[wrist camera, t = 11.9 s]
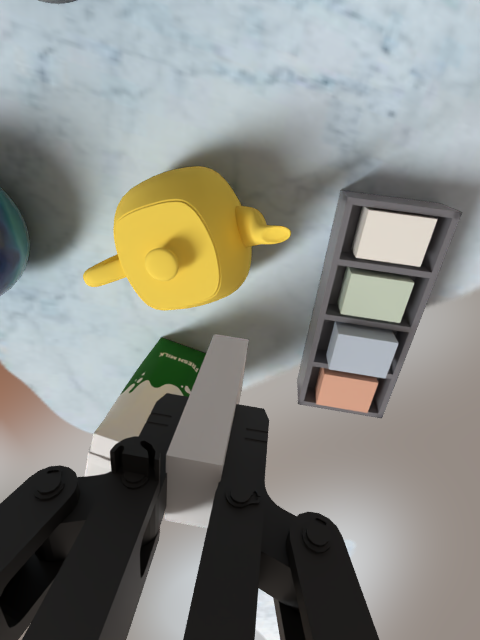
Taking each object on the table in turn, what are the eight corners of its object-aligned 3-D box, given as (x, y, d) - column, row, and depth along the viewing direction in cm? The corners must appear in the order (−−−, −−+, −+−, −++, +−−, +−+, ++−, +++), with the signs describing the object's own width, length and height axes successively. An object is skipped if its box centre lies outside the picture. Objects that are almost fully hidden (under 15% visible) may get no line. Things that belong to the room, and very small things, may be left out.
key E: (322, 359, 42) (324, 374, 40) (372, 367, 42) (378, 382, 39) (314, 388, 44) (316, 404, 42) (362, 396, 44) (367, 413, 41)
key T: (347, 263, 37) (351, 273, 34) (405, 272, 37) (414, 282, 34) (337, 302, 39) (340, 313, 36) (392, 310, 39) (400, 323, 36)
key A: (362, 204, 34) (368, 210, 32) (425, 213, 34) (437, 219, 31) (351, 249, 36) (355, 257, 34) (410, 257, 36) (420, 266, 33)
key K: (335, 320, 39) (338, 333, 36) (391, 329, 38) (398, 343, 35) (326, 354, 41) (328, 369, 38) (379, 362, 40) (385, 378, 38)
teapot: (303, 264, 40) (308, 310, 29) (146, 301, 45) (100, 354, 34) (274, 136, 35) (267, 134, 24) (99, 194, 39) (26, 215, 28)
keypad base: (340, 190, 36) (347, 197, 32) (440, 203, 35) (462, 212, 31) (297, 379, 47) (298, 404, 43) (373, 392, 47) (381, 418, 42)
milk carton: (142, 379, 51) (63, 508, 33) (156, 328, 46) (74, 443, 29) (200, 400, 51) (153, 538, 33) (219, 350, 47) (176, 479, 29)
